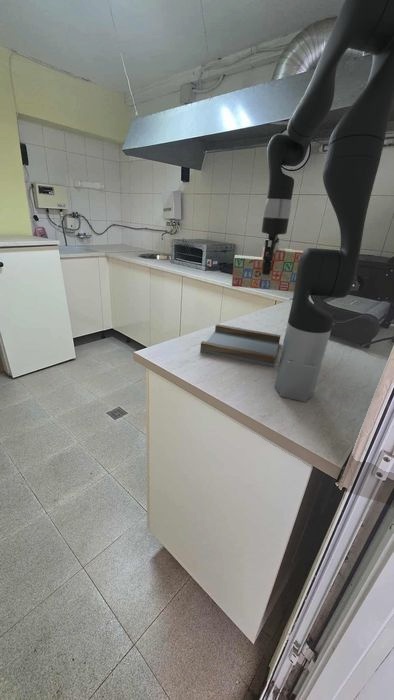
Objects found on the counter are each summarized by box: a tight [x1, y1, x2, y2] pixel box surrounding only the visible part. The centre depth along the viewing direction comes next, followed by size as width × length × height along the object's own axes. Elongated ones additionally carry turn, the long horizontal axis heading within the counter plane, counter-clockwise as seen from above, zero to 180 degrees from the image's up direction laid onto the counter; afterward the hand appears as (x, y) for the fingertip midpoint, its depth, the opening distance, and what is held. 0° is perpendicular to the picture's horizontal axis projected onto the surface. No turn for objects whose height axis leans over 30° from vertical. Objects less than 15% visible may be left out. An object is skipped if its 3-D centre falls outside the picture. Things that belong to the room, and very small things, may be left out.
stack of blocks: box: [231, 247, 304, 293], centre depth 92 cm, size 21×6×12 cm, turn 83°
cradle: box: [199, 323, 282, 368], centre depth 90 cm, size 17×22×3 cm
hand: (267, 272), depth 93 cm, fingers closed on stack of blocks, 7 cm apart
